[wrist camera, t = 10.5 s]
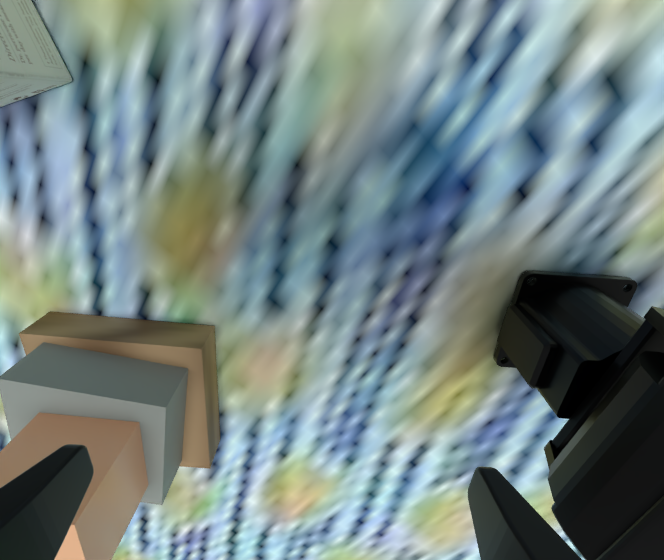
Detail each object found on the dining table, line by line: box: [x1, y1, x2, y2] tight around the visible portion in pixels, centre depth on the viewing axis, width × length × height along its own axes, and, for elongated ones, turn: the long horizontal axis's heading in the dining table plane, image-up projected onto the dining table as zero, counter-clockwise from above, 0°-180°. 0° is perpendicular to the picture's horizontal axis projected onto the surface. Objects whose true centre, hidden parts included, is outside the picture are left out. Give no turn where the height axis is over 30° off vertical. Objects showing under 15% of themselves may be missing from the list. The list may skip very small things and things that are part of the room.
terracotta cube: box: [0, 412, 148, 560], centre depth 17 cm, size 5×5×5 cm
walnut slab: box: [19, 312, 220, 468], centre depth 23 cm, size 10×10×3 cm
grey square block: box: [0, 342, 188, 505], centre depth 20 cm, size 8×8×3 cm
